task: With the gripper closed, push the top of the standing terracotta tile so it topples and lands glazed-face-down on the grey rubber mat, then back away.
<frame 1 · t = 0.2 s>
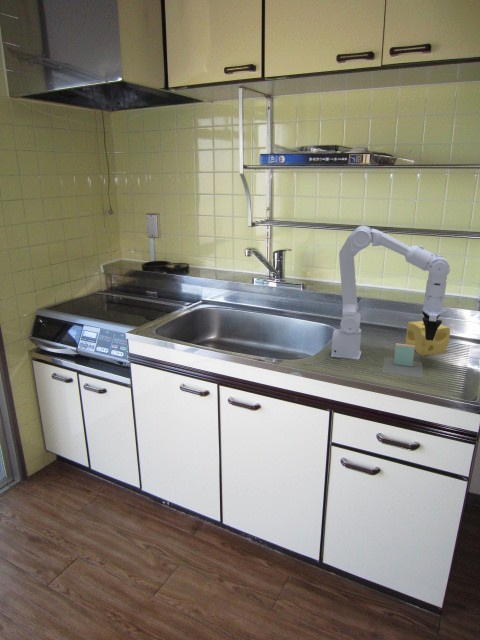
hand: (429, 336, 149), 10 cm above the worktop, tool pointing down, fingers open, 7 cm apart
tile: (402, 364, 150), point 1 cm above the worktop, touching mat
cheese: (424, 351, 164), on the worktop
mat: (402, 368, 148), on the worktop
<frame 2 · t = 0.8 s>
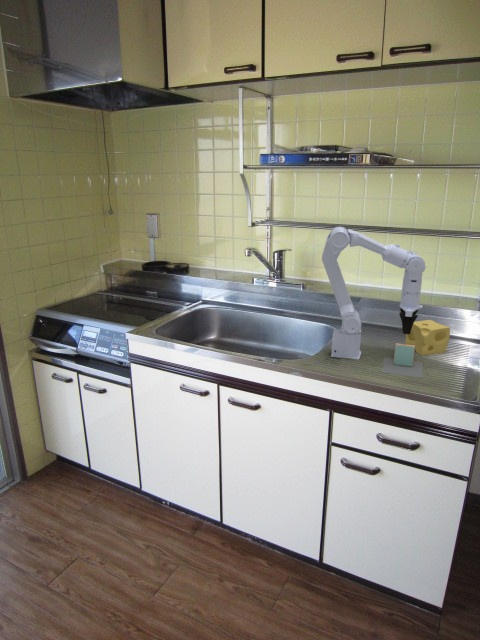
hand: (406, 331, 153), 10 cm above the worktop, tool pointing down, fingers open, 4 cm apart
nothing on the worktop moved.
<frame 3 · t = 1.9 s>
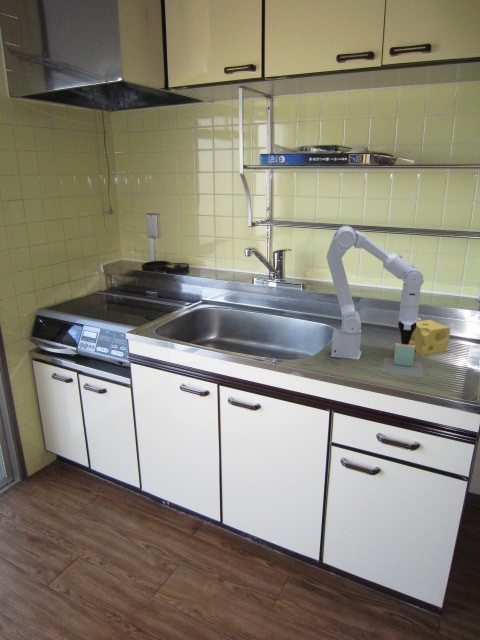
hand: (405, 343, 154), 6 cm above the worktop, tool pointing down, fingers closed
nothing on the worktop moved.
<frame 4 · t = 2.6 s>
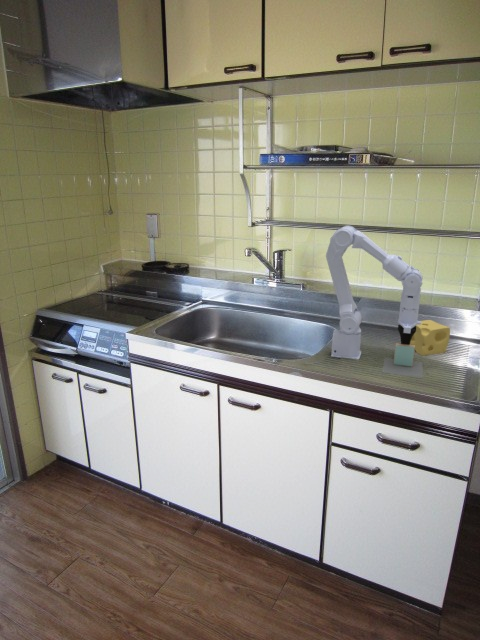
hand: (404, 347, 151), 6 cm above the worktop, tool pointing down, fingers closed
nothing on the worktop moved.
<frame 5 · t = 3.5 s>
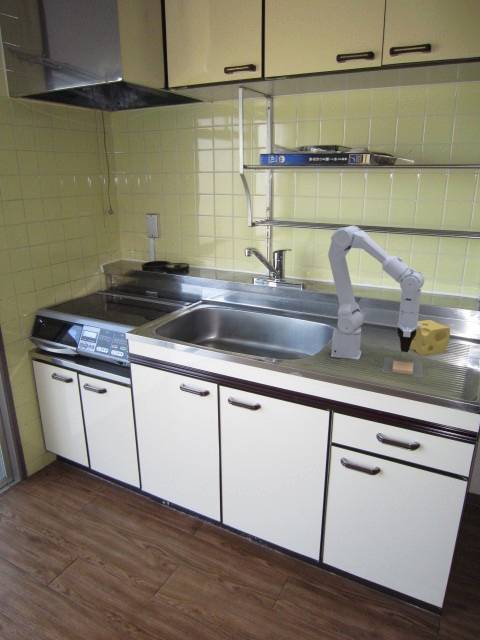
hand: (404, 351, 148), 6 cm above the worktop, tool pointing down, fingers closed
tile: (403, 363, 149), point 1 cm above the worktop, tilted 90°, touching mat
everything else where it was.
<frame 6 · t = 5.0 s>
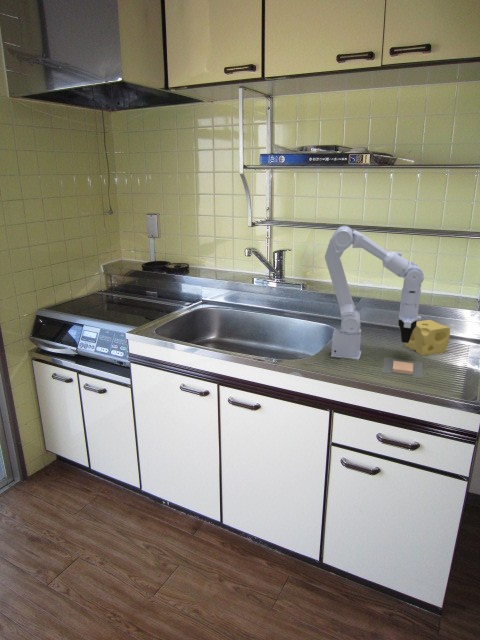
hand: (405, 341, 153), 7 cm above the worktop, tool pointing down, fingers closed
nothing on the worktop moved.
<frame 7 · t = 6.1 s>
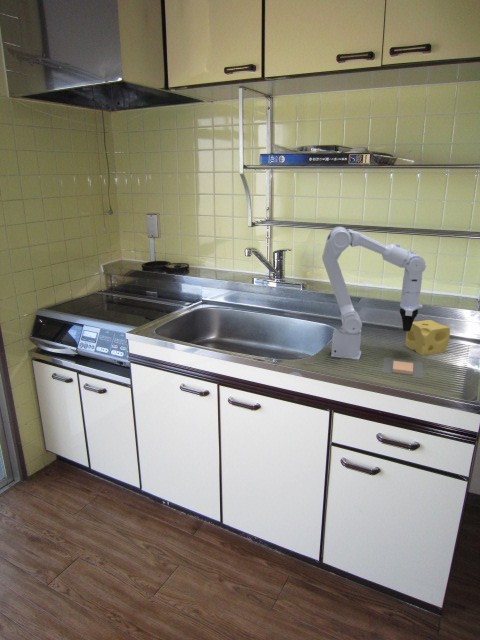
hand: (406, 330, 154), 10 cm above the worktop, tool pointing down, fingers closed
nothing on the worktop moved.
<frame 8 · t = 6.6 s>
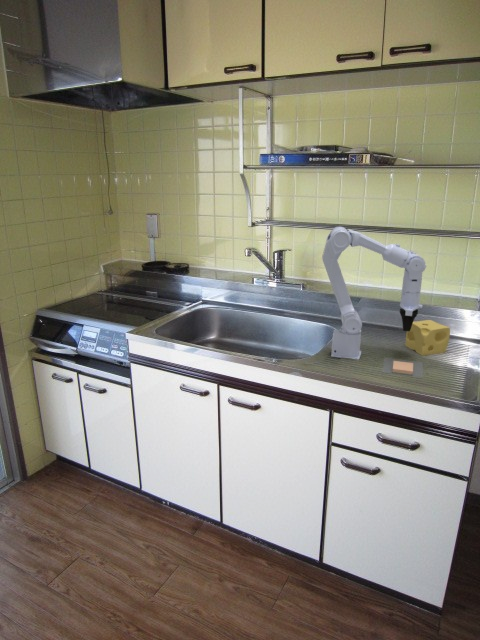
hand: (406, 330, 154), 10 cm above the worktop, tool pointing down, fingers closed
nothing on the worktop moved.
at the end: tile tilted 90°; tile inside the target area on the mat (1.2 cm from its centre), point 1.4 cm above the mat's base; tile point 1.4 cm above the worktop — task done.
